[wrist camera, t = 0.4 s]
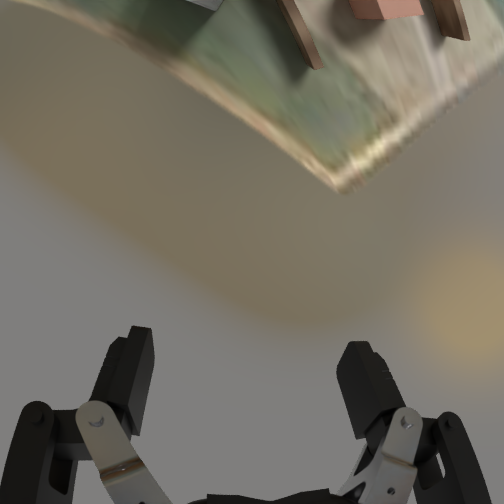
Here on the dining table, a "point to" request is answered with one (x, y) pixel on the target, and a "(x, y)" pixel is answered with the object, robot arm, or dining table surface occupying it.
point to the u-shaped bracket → (444, 7)
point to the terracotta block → (385, 8)
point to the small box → (208, 3)
